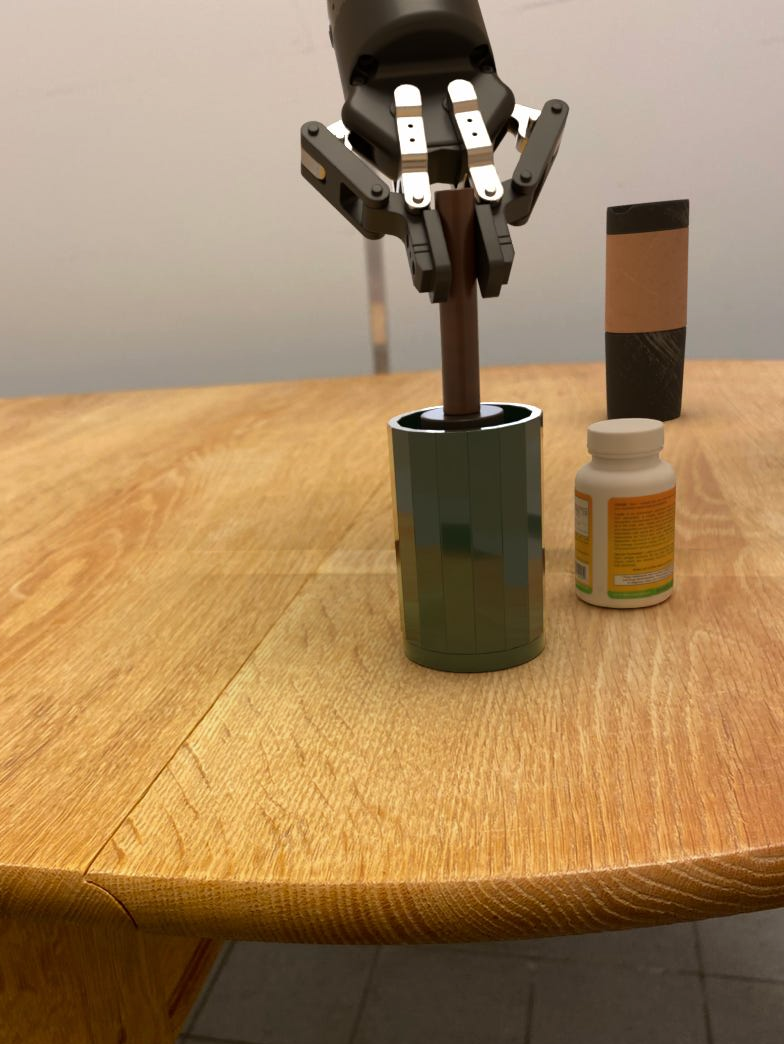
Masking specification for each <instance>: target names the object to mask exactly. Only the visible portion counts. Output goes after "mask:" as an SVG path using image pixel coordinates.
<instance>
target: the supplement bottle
mask: <svg viewBox="0 0 784 1044" xmlns="http://www.w3.org/2000/svg"><path fill="white" fill-rule="evenodd" d="M664 445H665V424H664V422H663V421H658V420H653V419H643V418H627V419H613V420H609V419H607V420H601V421H597V422H593V423H591V424H590V425H588V427H587V429H586V448H587V452H588V454H589V455H591V460H590V461H588V462H586V463H584V464H583V465H581V466H580V467H579V469H578V470H577V471H576V474H575V476H574V488H573V491H574V492H573V493H574V494H573V495H574V496H573V497H574V586H575V587H574V588H575V593H576V594H577V596H578V598H579V599H580V600H582V601H584V602H585V603H587V604H590V605H592V606H597V607H603V608H611V609H637V608H644V607H651V606H655V605H658V604H660V603H662V602H664V601H665V600H667V599H668V598H669V597H670V596H671V595H672V593H673V591H674V580H675V540H676V539H675V538H676V537H675V536H676V533H675V532H676V505H677V504H676V503H677V501H676V499H677V475H676V474H677V473H676V470H675V469H674V467H673V466H672V464H671V463H669V462H668V461H666V460H664V459H662V458H660V453H661V452H662V451H664Z"/></svg>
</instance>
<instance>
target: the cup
mask: <svg viewBox="0 0 784 1044" xmlns="http://www.w3.org/2000/svg"><path fill="white" fill-rule="evenodd" d="M480 403H481V405H489V406H496V407H500V408H502V409H503V411H504V425H499V426H494V427H485V428H477V429H468V430H446V431H434V430H421V415H422V414H423V413H425V412H427V411H430V410H433V409H438V408H443V405H436V406H433V407H432V406H430V407H426V408H425V407H424V408H420V409H416V410H415V409H414V410H411V411H407V412H404V413H402V414H399V415H395V416H393V417H392V418H390V420H388V421H387V422H386V432H387V434H386V435H387V447H388V448H387V449H388V462H389V464H388V465H389V478H390V490H391V491H390V493H391V507H392V518H393V520H392V522H393V535H394V551H395V563H396V564H395V567H396V581H397V593H398V594H397V595H398V608H399V610H398V611H399V623H400V625H399V626H400V632H401V637H402V649H403V652H404V655H406V657H407V658H409V660H410V661H412V662H414V663H415V664H418V665H420V666H423V667H426V668H429V669H432V670H433V669H434V670H437V671H438V670H439V671H442V672H451V673H452V672H454V673H483V672H492V671H498V670H504V669H509V668H513V667H517V666H519V665H522V664H525V663H527V662H529V661H532V660H533V659H534V658H536V657H537V656H538V655H540V654H541V653H542V651H544V648H545V646H546V624H547V603H546V602H547V600H546V599H547V598H546V596H547V595H546V594H547V593H546V591H547V590H546V529H545V526H546V524H545V523H546V521H545V463H544V462H545V461H544V459H545V458H544V455H545V453H544V411H543V410H542V409H540V408H538V407H536V406H534V405H531V404H530V405H529V404H525V403H524V404H523V403H516V402H493V401H492V402H489V401H488V402H480Z"/></svg>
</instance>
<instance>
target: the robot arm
mask: <svg viewBox="0 0 784 1044" xmlns="http://www.w3.org/2000/svg"><path fill="white" fill-rule="evenodd" d="M479 2H480V1H479V0H326V13H327V20H328V36H329V41H330V45H331V48H332V49H333V51H334V55H335V61H336V65H337V69H338V74H339V80H340V84H341V89H342V90H341V91H342V94H343V99H344V103H343V104H342V108H341V111H340V118H341V119H340V120H337V121H336V122H334V123H332V124H330V125H329V126H325V125H324V124H323V123H322V122H319V121H317V120H310V121H307V122H304V123H303V124H302V125H301V127H300V136H299V137H300V175H301V176H302V177H303V179H304V180H305V181H306V182H307V183H308V184H310V186H312V188H314V189H315V190H316V191H317V193H318V194H320V195H321V196H322V197H323V198H324V199H325V201H327V203H329V204H330V205H331V206H332V207H333V208H334V209H335V210H336V211H337V212H338V213H339V214H340V215H341V216H342V217H343V218H344V219H345V220H346V221H347V222H348V223H349V224H350V225H351V226H352V227H354V228H355V230H357V231H358V232H359V234H361V235H362V236H363V237H364V238H365V239H367V240H370V241H378V240H381V239H383V238H384V237H385V236H386V235H387V236H392V237H396V238H398V239H399V240H400V241H401V243H403V245H404V248H405V252H406V258H407V262H408V267H409V270H410V275H411V280H412V285H413V287H414V288H415V289H416V291H417V292H418V293H419V294H425V293H426V294H428V298H429V302H430V304H431V305H435V304H439V303H444V302H447V301H448V296H449V290H450V284H451V278H452V270H451V263H450V259H449V255H448V250H447V246H446V242H445V238H444V234H443V229H442V225H441V221H440V217H439V212H438V209H435V208H433V209H432V208H431V207H432V206H431V204H432V191H431V185H435V184H442V185H443V184H444V185H449V187H450V189H460V188H474V195H475V234H476V268H477V285H478V288H479V292H480V296H481V299H483V300H484V299H493V298H499V297H500V294H501V290H502V288H503V287H502V286H505V285H508V284H509V280H510V276H511V271H512V268H513V263H514V260H515V255H516V252H515V247H514V244H513V240H512V237H511V233H510V229H509V226H511V227H523V226H524V225H526V224H527V223H528V222H529V220H530V218H531V214H532V213H533V211H534V208H535V206H536V204H537V201H538V199H539V197H540V195H541V192H542V190H543V188H544V185H545V183H546V181H547V179H548V176H549V174H550V172H551V169H552V167H553V165H554V162H555V161H556V158H557V156H558V153H559V150H560V146H561V144H562V143H561V142H562V139H563V136H564V131H565V128H566V125H567V121H568V116H569V113H570V106H569V104H568V103H567V102H566V101H564V100H563V99H559V98H551V99H550V100H547V101H546V102H545V103H544V105H543V107H542V109H537V108H534V107H530V106H527V105H523V104H520V103H517V102H516V97H515V94H514V92H513V90H512V89H511V87H509V86H508V85H507V84H506V83H505V82H503V80H502V79H501V77H499V75H498V71H497V70H498V69H497V67H496V61H495V55H494V52H493V47H492V44H491V40H490V38H489V35H488V34H489V33H488V31H487V27H486V23H485V21H484V17H483V13H482V9H481V6H480V3H479ZM508 133H510V134H511V135H513V137H514V139H515V143H514V147H515V149H516V151H517V152H518V153H520V154H519V159H518V162H517V164H516V166H515V168H514V170H513V173H512V175H511V178H508V179H506V180H504V181H501V178H500V175H499V173H498V171H497V168H496V166H495V162H494V153H496V151H497V149H498V148H499V146H500V144H501V143H502V142H503V140H504V138H505V137H506V135H507V134H508ZM363 160H364V161H365V162H366V163H368V164H369V165H370V166H371V167H372V168H374V169H375V170H377V171H378V172H379V173H380V174H382V175H383V176H385V177H386V178H388V179H389V180H391V185H392V187H391V188H392V191H391V188H390V186H389V185H388V184H387V183H386V182H385V181H384V180H383V178H381V177H380V176H379V175H377V174H376V172H375V171H373V170H372V168H370V167H369V166H368V165H367V164H366V163H365V162H364V161H363Z"/></svg>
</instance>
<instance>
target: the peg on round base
mask: <svg viewBox="0 0 784 1044" xmlns="http://www.w3.org/2000/svg"><path fill="white" fill-rule="evenodd" d="M433 199H434V200H433V201H434V209H438V212H439V217H440V221H441V225H442V229H443V234H444V238H445V242H446V246H447V250H448V255H449V259H450V263H451V270H452V278H451V284H450V290H449V296H448V301H447V302H444V303H438V319H439V321H438V322H439V342H440V343H439V345H440V347H439V348H440V367H441V368H440V370H441V390H442V391H441V392H442V393H441V394H442V406H443V408H438V409H433V410H430V411H427V412H425V413H423V414H422V415H421V430H434V431H446V430H468V429H477V428H485V427H494V426H499V425H504V411H503V409H502V408H500V407H496V406H489V405H481V403H482V402H481V374H480V372H481V371H480V369H481V368H480V341H479V334H480V333H479V301H478V280H477V268H476V234H475V195H474V188H460V189H451V188H450V189H442V190H435V191H434V192H433Z"/></svg>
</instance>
